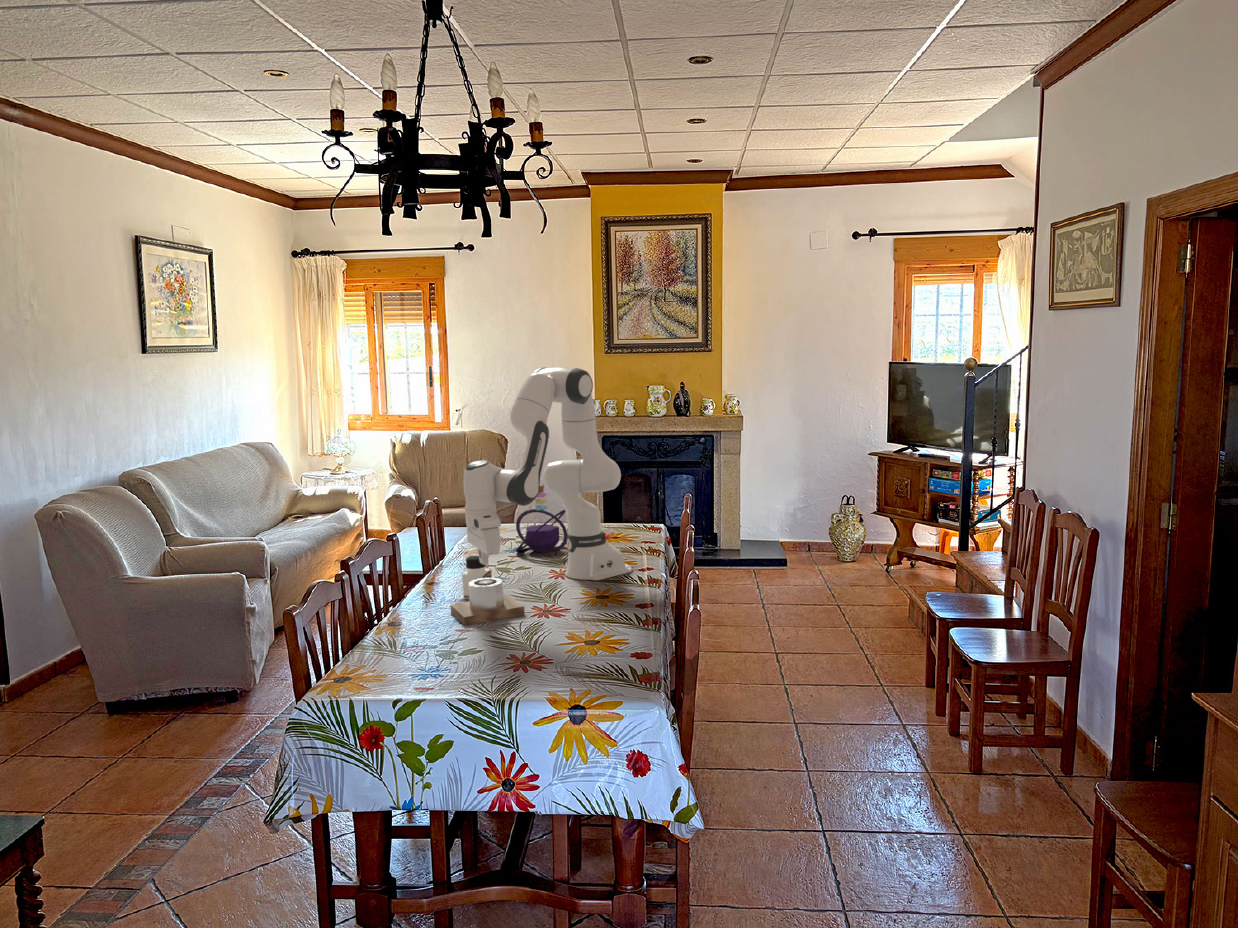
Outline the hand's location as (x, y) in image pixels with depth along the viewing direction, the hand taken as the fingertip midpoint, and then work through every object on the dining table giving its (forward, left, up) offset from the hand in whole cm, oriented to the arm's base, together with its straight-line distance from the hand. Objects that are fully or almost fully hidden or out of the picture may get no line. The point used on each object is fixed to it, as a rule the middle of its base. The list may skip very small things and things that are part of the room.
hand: (484, 563), depth 257 cm
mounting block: (0, 0, -15) cm, 15 cm away
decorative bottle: (-42, -62, -15) cm, 76 cm away
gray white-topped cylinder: (0, 0, -12) cm, 12 cm away
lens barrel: (0, 0, -13) cm, 13 cm away
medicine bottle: (-4, -22, -15) cm, 27 cm away
